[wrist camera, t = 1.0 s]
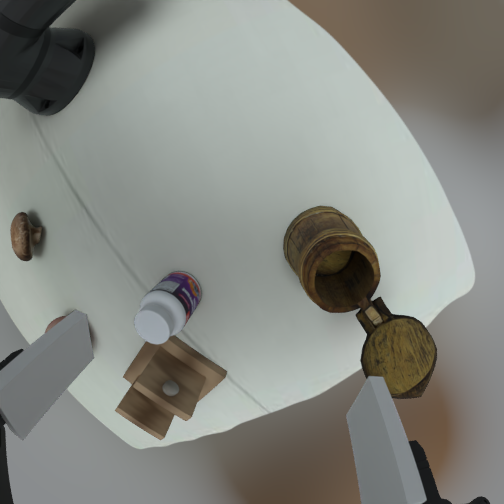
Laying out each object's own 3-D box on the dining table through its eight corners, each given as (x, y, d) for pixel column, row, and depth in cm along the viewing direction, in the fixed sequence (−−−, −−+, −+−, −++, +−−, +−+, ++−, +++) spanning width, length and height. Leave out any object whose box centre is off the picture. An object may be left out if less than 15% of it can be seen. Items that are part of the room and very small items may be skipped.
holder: (126, 371, 40) (100, 407, 30) (158, 323, 36) (128, 363, 27) (183, 410, 41) (167, 449, 31) (226, 371, 37) (213, 418, 28)
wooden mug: (336, 319, 33) (371, 429, 16) (268, 240, 31) (252, 320, 14) (391, 276, 31) (468, 361, 13) (327, 190, 29) (391, 208, 12)
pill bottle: (204, 309, 34) (180, 352, 25) (167, 308, 35) (135, 347, 26) (199, 269, 33) (170, 304, 24) (160, 270, 33) (122, 302, 24)
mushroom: (42, 230, 31) (7, 240, 26) (49, 264, 36) (18, 274, 31) (38, 198, 33) (6, 206, 29) (42, 233, 38) (14, 241, 34)
